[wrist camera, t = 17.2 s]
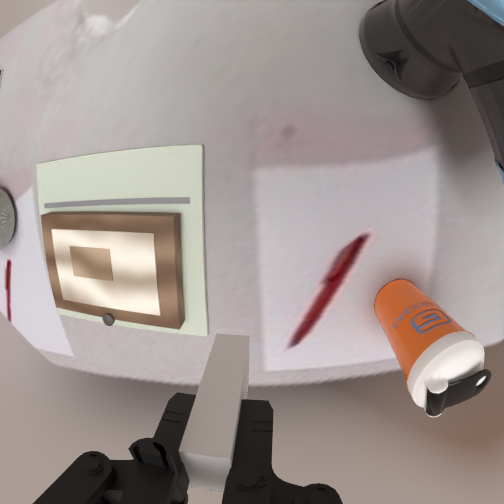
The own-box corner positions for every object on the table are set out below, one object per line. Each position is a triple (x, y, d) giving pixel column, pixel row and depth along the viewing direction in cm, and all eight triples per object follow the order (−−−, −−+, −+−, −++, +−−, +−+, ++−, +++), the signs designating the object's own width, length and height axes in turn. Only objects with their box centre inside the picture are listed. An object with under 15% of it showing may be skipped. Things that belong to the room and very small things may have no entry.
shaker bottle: (426, 310, 38) (494, 395, 19) (377, 337, 40) (424, 437, 21) (414, 261, 36) (499, 337, 17) (359, 290, 38) (416, 390, 18)
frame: (50, 211, 36) (38, 215, 33) (180, 212, 35) (171, 217, 32) (65, 305, 41) (55, 313, 38) (185, 325, 39) (179, 337, 36)
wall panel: (40, 163, 35) (36, 164, 34) (203, 145, 33) (201, 144, 32) (61, 311, 43) (58, 314, 42) (208, 332, 41) (207, 336, 40)
